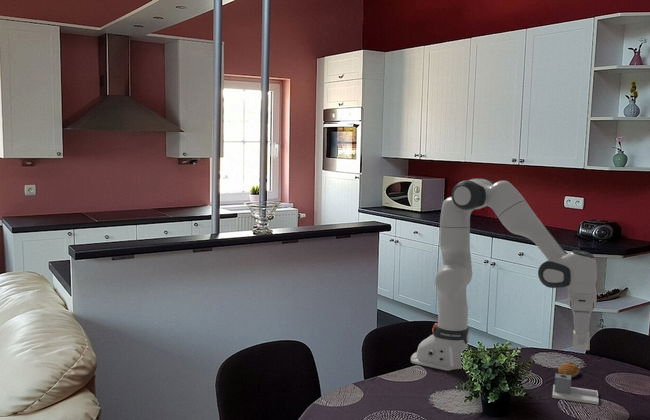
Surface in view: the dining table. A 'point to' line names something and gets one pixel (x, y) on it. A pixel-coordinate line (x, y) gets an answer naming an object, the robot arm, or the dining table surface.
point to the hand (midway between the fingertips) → (581, 341)
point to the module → (579, 346)
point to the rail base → (572, 391)
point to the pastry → (569, 369)
